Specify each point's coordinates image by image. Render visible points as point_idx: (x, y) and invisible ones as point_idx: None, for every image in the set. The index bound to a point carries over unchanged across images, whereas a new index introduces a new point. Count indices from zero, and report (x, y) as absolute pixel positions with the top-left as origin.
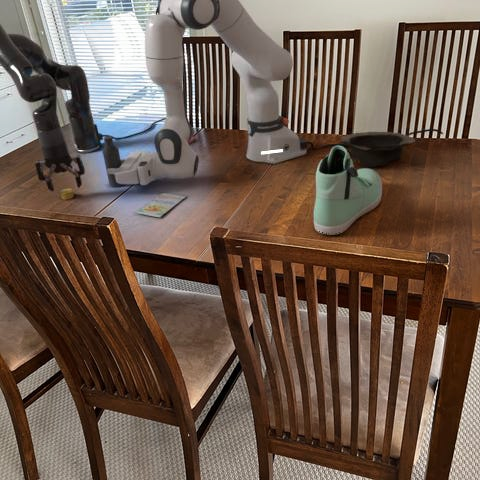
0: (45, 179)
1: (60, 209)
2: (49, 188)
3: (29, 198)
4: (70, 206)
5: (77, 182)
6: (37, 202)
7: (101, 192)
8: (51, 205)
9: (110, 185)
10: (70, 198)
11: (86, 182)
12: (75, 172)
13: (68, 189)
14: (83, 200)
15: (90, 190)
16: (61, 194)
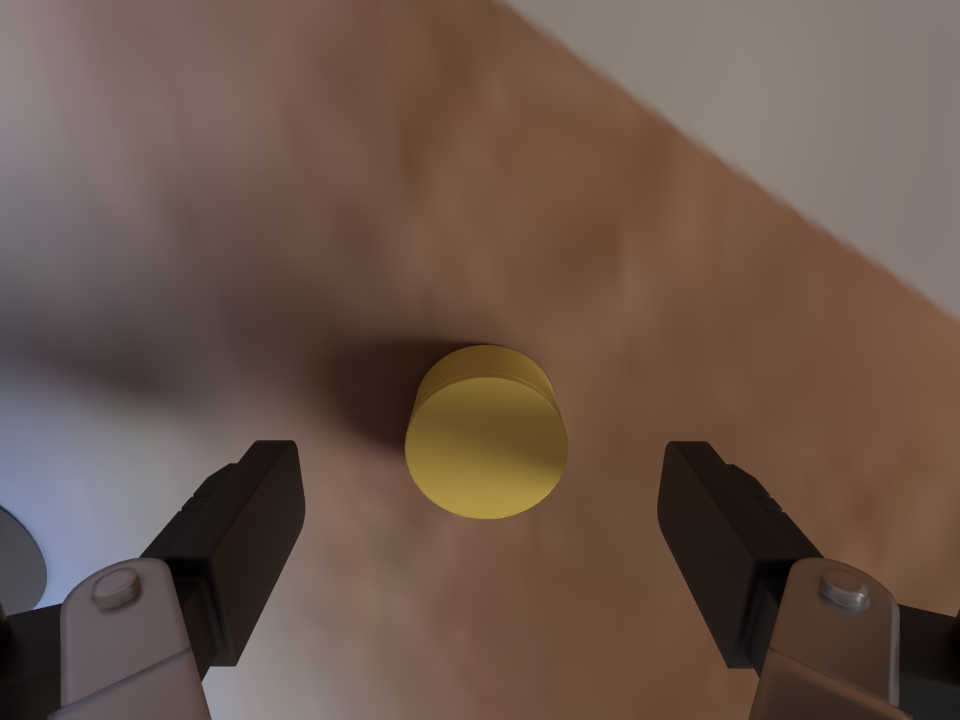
0: (888, 602)
1: (557, 43)
2: (737, 477)
3: (922, 517)
4: (419, 101)
5: (239, 487)
6: (849, 387)
7: (85, 404)
8: (685, 236)
9: (4, 524)
10: (449, 354)
11: (332, 678)
12: (78, 667)
13: (463, 492)
14: (267, 244)
15: None
16: (554, 404)
